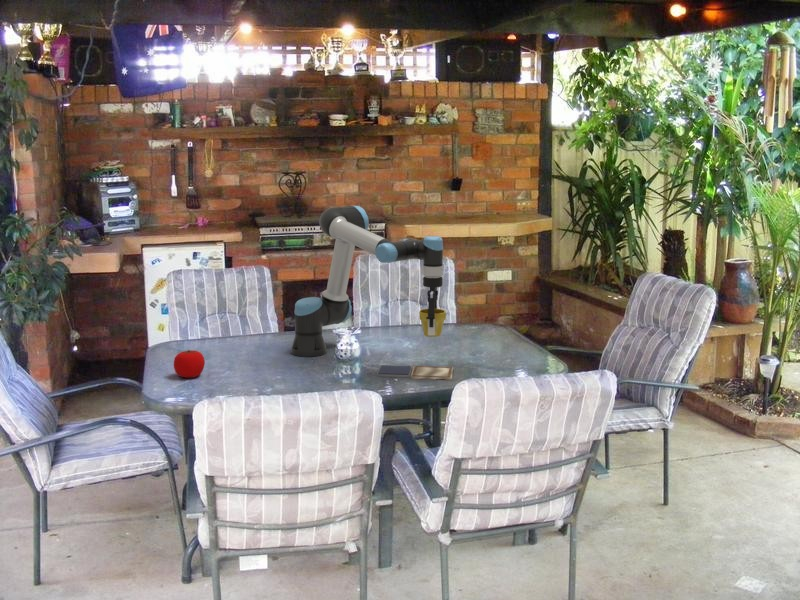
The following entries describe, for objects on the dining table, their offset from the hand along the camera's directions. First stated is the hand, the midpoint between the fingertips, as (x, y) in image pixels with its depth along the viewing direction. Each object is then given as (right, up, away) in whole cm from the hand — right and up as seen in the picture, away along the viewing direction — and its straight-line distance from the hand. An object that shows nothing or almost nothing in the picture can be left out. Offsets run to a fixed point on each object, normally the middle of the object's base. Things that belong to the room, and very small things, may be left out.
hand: (432, 331), depth 358 cm
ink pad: (-15, -16, +5) cm, 23 cm away
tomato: (-95, -17, -3) cm, 96 cm away
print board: (0, -17, +3) cm, 17 cm away
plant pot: (0, -1, 0) cm, 1 cm away
